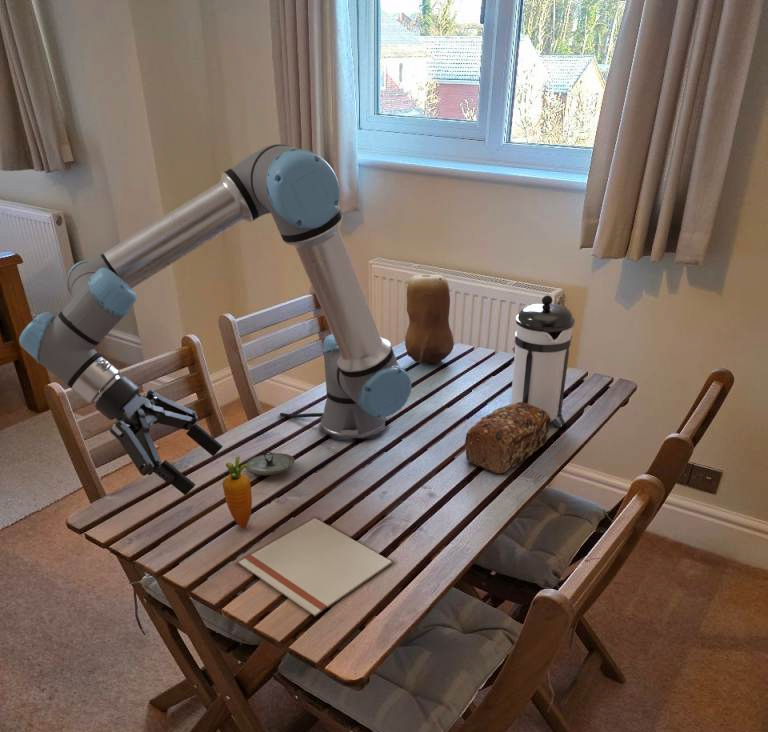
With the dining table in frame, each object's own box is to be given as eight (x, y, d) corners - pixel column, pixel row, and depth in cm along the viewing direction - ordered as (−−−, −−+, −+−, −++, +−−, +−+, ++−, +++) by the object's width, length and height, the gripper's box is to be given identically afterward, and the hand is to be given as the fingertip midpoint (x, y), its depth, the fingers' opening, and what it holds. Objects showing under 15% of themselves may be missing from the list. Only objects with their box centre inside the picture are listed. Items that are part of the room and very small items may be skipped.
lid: (267, 493, 143) (270, 474, 140) (234, 469, 147) (236, 450, 144) (302, 473, 151) (305, 455, 148) (269, 450, 154) (272, 432, 151)
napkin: (238, 563, 121) (238, 561, 121) (315, 519, 132) (315, 517, 132) (315, 616, 110) (314, 614, 109) (391, 563, 121) (391, 561, 120)
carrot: (244, 517, 133) (234, 450, 125) (262, 527, 131) (252, 458, 123) (224, 529, 130) (212, 461, 122) (242, 539, 127) (230, 469, 120)
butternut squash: (429, 350, 206) (431, 265, 193) (462, 362, 197) (465, 274, 184) (394, 362, 198) (393, 275, 185) (426, 376, 190) (427, 285, 176)
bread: (502, 478, 144) (505, 435, 138) (461, 461, 150) (463, 420, 145) (550, 445, 155) (555, 405, 150) (510, 430, 161) (513, 391, 156)
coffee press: (579, 415, 167) (597, 292, 152) (545, 439, 157) (560, 310, 142) (518, 396, 177) (529, 279, 162) (482, 417, 167) (490, 295, 152)
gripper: (81, 408, 106) (190, 496, 112) (150, 349, 127) (239, 425, 133) (58, 436, 110) (165, 520, 116) (129, 374, 131) (217, 448, 137)
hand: (205, 470), depth 124 cm, fingers open, 13 cm apart
